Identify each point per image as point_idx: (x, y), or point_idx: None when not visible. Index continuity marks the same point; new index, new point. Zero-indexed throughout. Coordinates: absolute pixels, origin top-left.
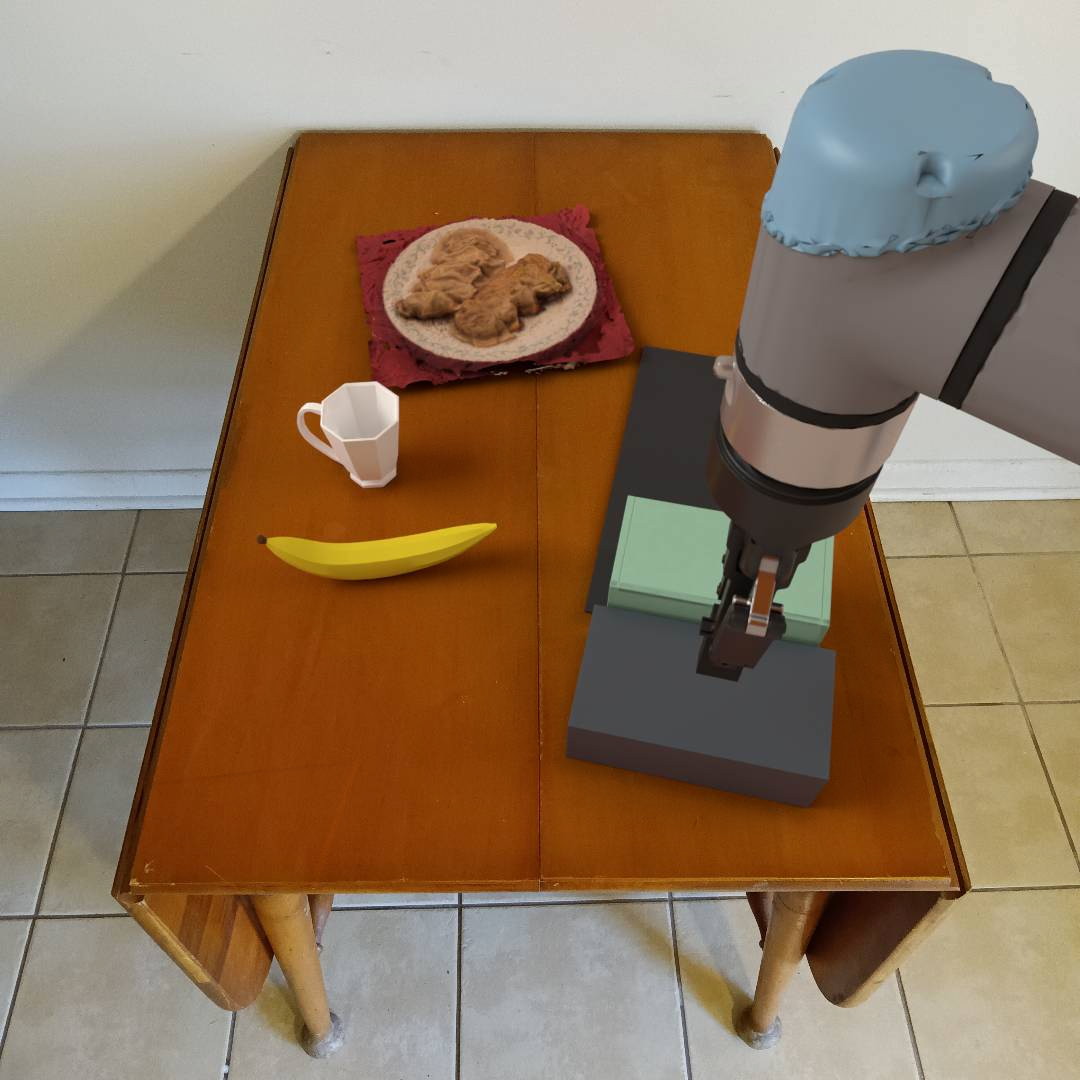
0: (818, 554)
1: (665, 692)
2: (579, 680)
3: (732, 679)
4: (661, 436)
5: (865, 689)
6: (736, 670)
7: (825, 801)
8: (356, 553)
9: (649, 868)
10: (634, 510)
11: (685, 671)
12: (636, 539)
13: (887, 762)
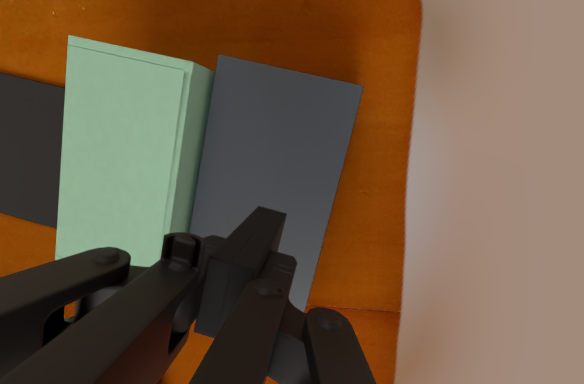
0: (101, 60)
1: None
2: None
3: (284, 221)
4: (4, 182)
5: (245, 21)
6: (280, 228)
7: (351, 78)
8: None
9: (400, 233)
10: None
11: (246, 215)
12: None
13: (317, 12)
